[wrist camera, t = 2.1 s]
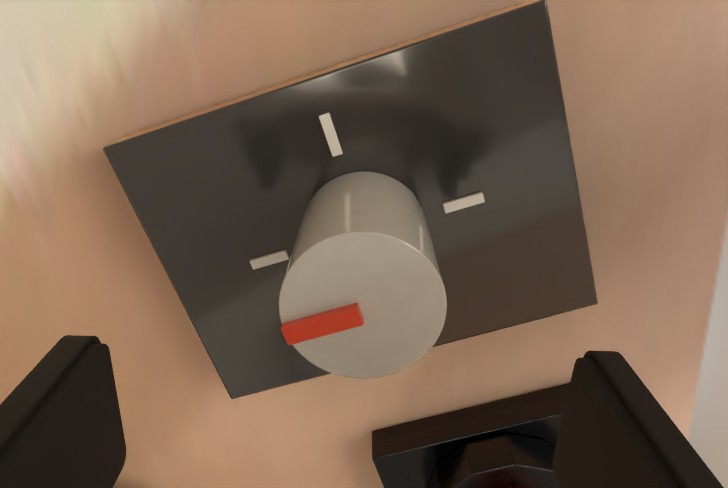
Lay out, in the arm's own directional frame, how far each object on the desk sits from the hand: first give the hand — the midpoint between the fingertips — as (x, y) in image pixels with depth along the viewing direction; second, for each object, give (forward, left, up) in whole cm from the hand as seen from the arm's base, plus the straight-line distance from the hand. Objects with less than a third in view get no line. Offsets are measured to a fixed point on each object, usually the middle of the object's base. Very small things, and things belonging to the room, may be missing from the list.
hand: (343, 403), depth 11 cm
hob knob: (0, 0, -9) cm, 9 cm away
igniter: (-2, +14, -11) cm, 18 cm away
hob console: (0, 0, -11) cm, 11 cm away
